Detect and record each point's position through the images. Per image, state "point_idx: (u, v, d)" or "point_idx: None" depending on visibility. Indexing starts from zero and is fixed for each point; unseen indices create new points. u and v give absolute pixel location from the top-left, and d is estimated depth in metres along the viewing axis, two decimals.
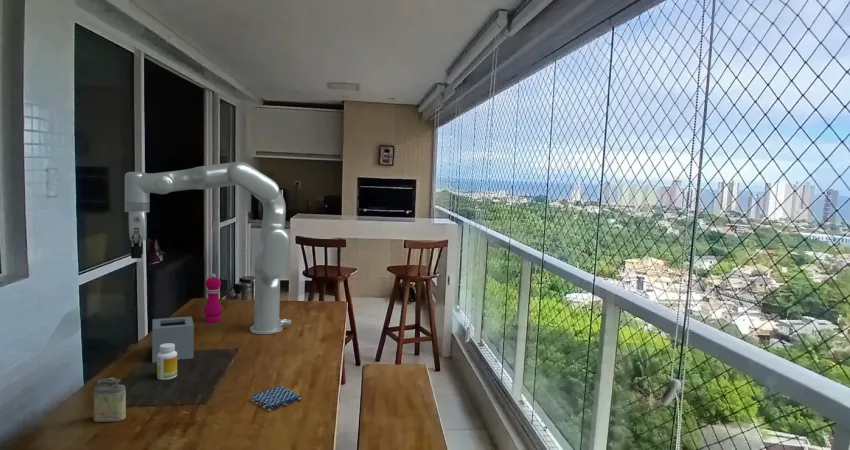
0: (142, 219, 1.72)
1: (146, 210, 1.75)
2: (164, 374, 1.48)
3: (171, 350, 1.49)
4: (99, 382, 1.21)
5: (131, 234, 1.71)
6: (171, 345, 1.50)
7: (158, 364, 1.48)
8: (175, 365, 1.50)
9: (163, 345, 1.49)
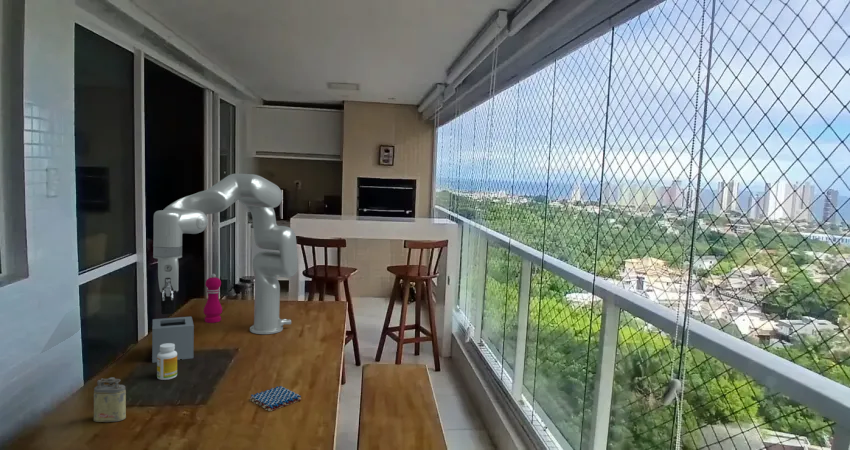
0: (174, 267, 1.44)
1: (179, 255, 1.47)
2: (164, 374, 1.48)
3: (171, 350, 1.49)
4: (99, 382, 1.22)
5: (162, 285, 1.43)
6: (171, 345, 1.50)
7: (158, 364, 1.48)
8: (175, 365, 1.50)
9: (163, 345, 1.49)
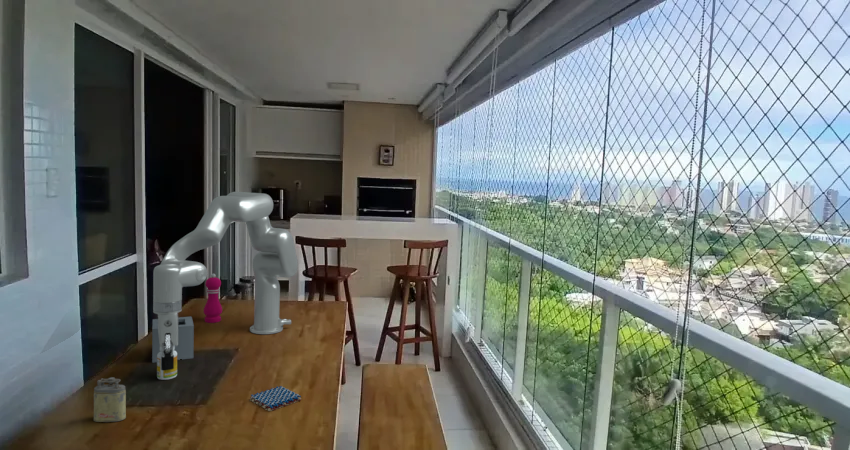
0: (174, 322, 1.46)
1: (178, 310, 1.48)
2: (164, 374, 1.48)
3: None
4: (99, 382, 1.22)
5: (161, 341, 1.44)
6: None
7: (158, 364, 1.48)
8: (175, 365, 1.50)
9: None
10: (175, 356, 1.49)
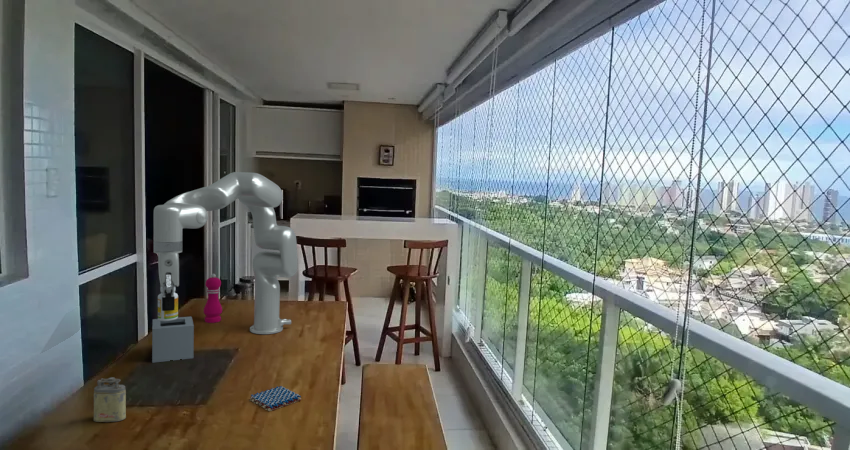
0: (175, 261, 1.44)
1: (179, 250, 1.47)
2: (165, 315, 1.46)
3: None
4: (99, 382, 1.22)
5: (162, 280, 1.43)
6: None
7: (159, 305, 1.47)
8: (176, 307, 1.49)
9: None
10: (176, 298, 1.48)
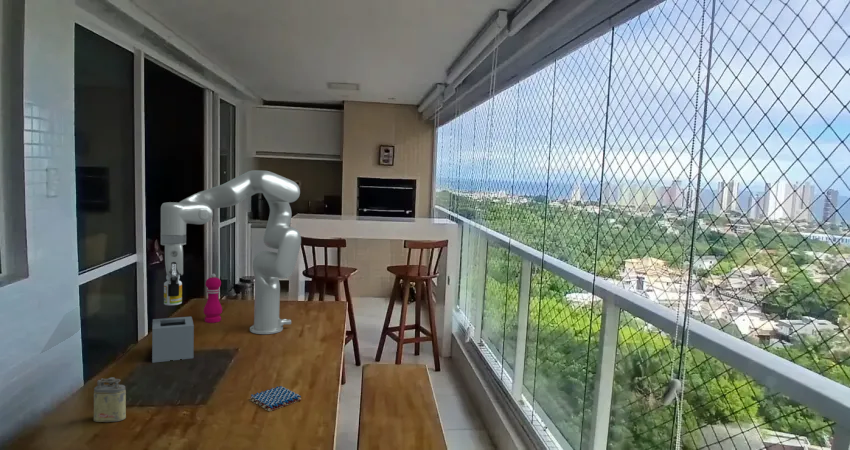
0: (179, 252, 1.63)
1: (183, 243, 1.65)
2: (170, 300, 1.65)
3: None
4: (99, 382, 1.22)
5: (168, 269, 1.61)
6: None
7: (165, 291, 1.65)
8: (180, 293, 1.67)
9: None
10: (180, 285, 1.67)
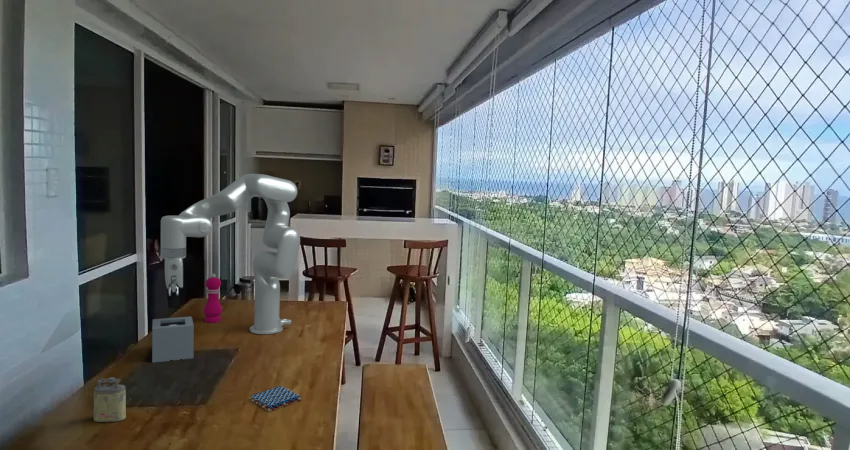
0: (179, 266, 1.63)
1: (183, 256, 1.65)
2: None
3: None
4: (99, 382, 1.22)
5: (168, 282, 1.62)
6: None
7: None
8: None
9: None
10: None
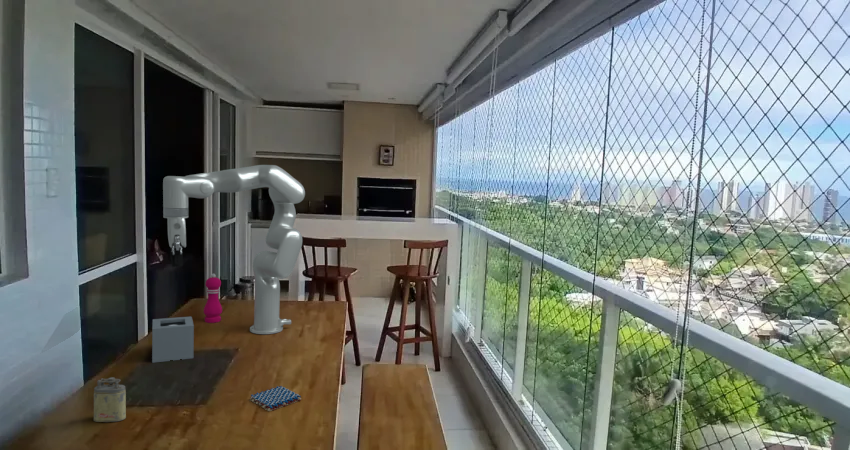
0: (182, 225, 1.65)
1: (186, 216, 1.67)
2: None
3: None
4: (99, 382, 1.22)
5: (172, 241, 1.64)
6: None
7: None
8: None
9: None
10: None
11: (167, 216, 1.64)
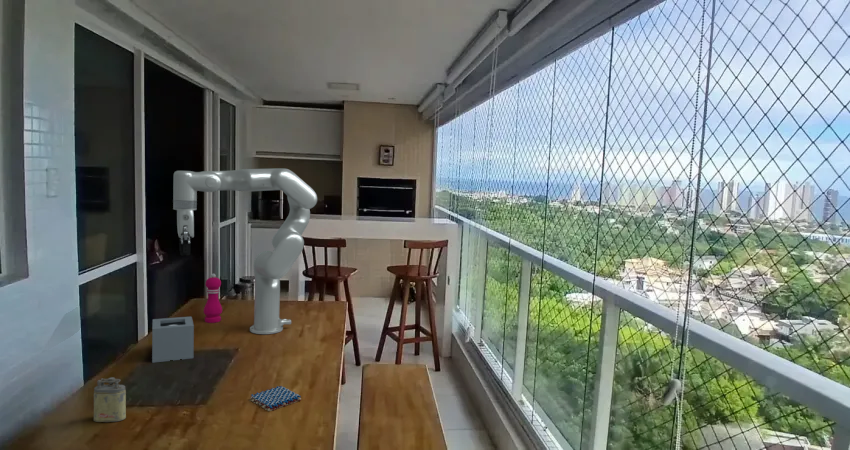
0: (191, 216, 1.76)
1: (194, 208, 1.78)
2: None
3: None
4: (99, 382, 1.22)
5: (180, 231, 1.75)
6: None
7: None
8: None
9: None
10: None
11: (177, 208, 1.76)
